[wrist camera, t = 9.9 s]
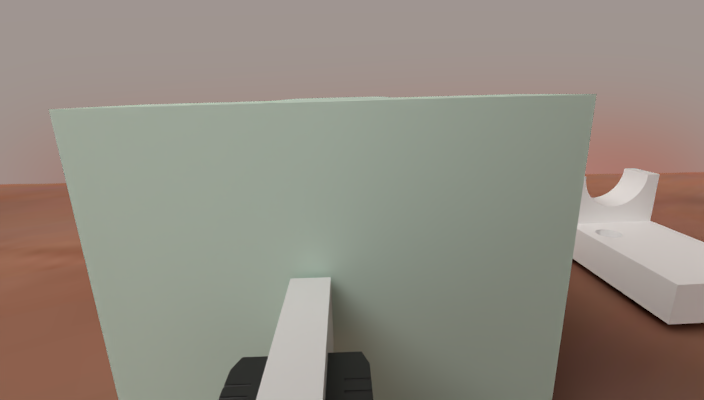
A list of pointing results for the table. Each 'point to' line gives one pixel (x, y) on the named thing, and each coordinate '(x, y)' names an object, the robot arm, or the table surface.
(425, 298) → the t block
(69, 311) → the table surface
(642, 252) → the bracket
